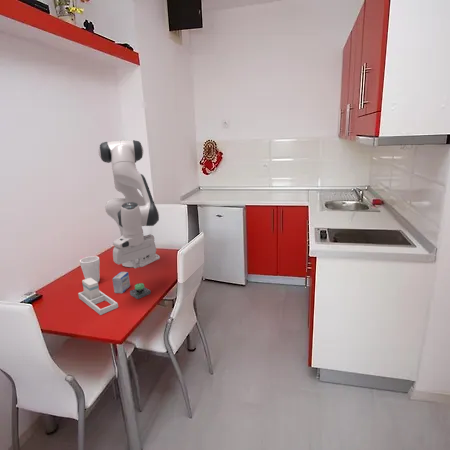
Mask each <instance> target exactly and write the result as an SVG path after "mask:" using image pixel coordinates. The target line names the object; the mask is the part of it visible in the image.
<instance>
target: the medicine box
mask: <svg viewBox="0 0 450 450" xmlns="http://www.w3.org/2000/svg"><path fill="white" fill-rule="evenodd" d="M112 286H113V291H114V294H123V293H125V291H127V290H128V289H129V288H130V287H131V282H130V276H129V272H128V271H120V272H118V273H117V275H115V276H114V277H113V278H112Z"/></svg>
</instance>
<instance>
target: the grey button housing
mask: <svg viewBox="0 0 450 450" xmlns="http://www.w3.org/2000/svg"><path fill="white" fill-rule="evenodd" d="M151 294H152V292H151V290H150V289H149V288H148V287H145V286H144V288H143V289H142V292H140V293H139V292H138V290H136V289H135V288H134V289H131V290H129V295H130V296H131V297H133V298H134V299H137V300H139V299H141V298H144V297H147V296H148V295H151Z"/></svg>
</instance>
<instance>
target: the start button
mask: <svg viewBox="0 0 450 450" xmlns="http://www.w3.org/2000/svg"><path fill="white" fill-rule="evenodd" d="M144 287H145V284H144V283H143V282H140V283H136V284H135V285H134V289H136V290H138V292H139V293H140V292H142V289H143V288H144Z"/></svg>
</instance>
